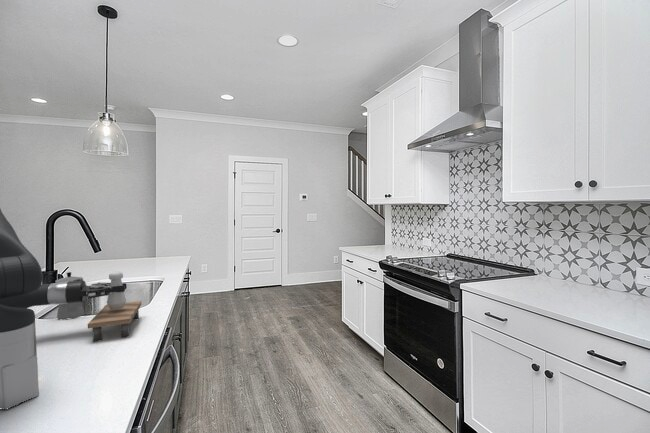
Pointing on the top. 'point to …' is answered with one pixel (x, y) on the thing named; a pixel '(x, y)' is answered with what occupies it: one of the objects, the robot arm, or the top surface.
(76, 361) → the top surface
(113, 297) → the salt shaker
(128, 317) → the slatted wooden bench
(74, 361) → the top surface
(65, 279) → the coffeepot
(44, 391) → the top surface
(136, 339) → the top surface
